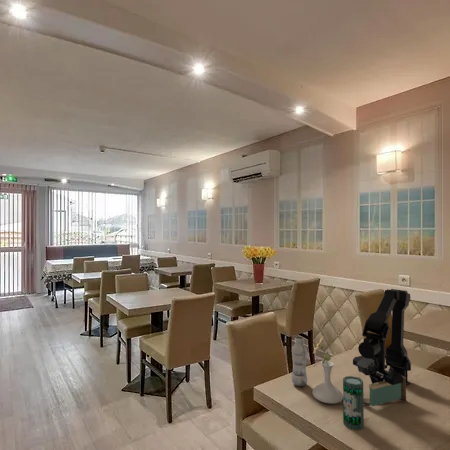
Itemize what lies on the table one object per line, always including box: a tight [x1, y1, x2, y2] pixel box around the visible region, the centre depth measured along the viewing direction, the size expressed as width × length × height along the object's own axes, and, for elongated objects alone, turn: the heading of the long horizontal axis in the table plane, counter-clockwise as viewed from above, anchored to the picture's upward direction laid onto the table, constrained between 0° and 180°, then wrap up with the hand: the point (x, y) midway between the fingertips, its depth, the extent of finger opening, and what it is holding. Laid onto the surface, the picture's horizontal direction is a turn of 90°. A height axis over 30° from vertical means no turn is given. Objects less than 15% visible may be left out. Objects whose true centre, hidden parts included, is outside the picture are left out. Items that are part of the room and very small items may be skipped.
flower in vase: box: [311, 335, 343, 404], centre depth 124 cm, size 13×11×25 cm
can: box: [342, 375, 365, 431], centre depth 108 cm, size 6×6×15 cm
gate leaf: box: [368, 380, 401, 407], centre depth 119 cm, size 15×2×7 cm, turn 112°
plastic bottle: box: [291, 335, 308, 388], centre depth 135 cm, size 6×7×20 cm
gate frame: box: [356, 376, 409, 406], centre depth 122 cm, size 19×3×9 cm, turn 94°
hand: (376, 391), depth 122 cm, fingers closed
